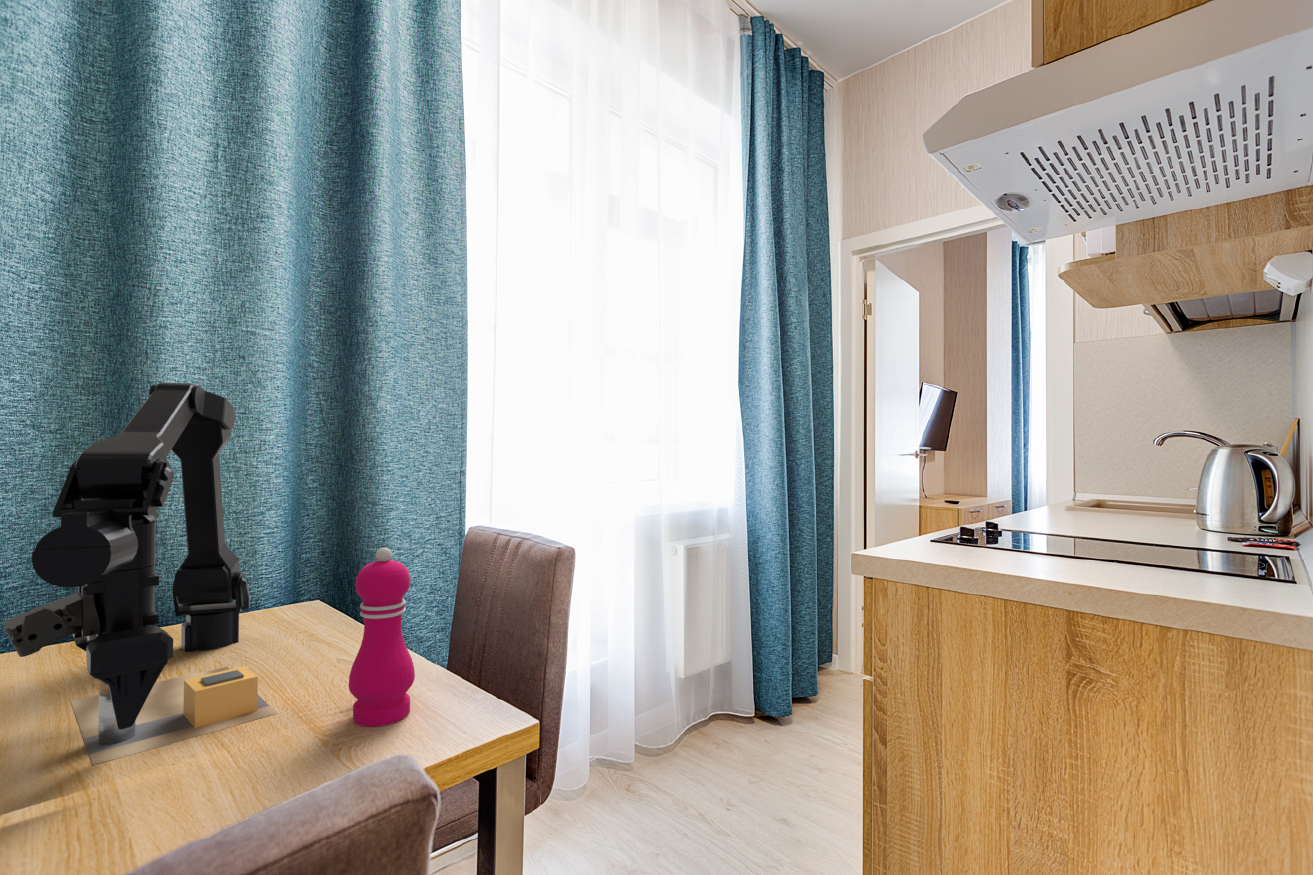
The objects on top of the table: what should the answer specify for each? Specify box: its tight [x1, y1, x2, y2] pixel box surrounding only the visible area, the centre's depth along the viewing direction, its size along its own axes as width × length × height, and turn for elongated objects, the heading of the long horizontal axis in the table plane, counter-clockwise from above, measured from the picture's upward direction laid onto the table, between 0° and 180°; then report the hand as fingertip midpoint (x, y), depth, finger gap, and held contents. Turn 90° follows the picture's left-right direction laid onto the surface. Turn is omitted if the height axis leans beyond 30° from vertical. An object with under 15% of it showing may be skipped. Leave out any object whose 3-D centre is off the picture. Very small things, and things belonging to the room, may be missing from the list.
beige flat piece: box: [70, 666, 279, 766], centre depth 73 cm, size 16×22×1 cm
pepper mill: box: [348, 546, 416, 728], centre depth 74 cm, size 7×7×20 cm
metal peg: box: [98, 679, 136, 745], centre depth 66 cm, size 3×3×6 cm
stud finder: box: [183, 665, 259, 728], centre depth 72 cm, size 6×5×4 cm
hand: (118, 714), depth 66 cm, fingers open, 9 cm apart
